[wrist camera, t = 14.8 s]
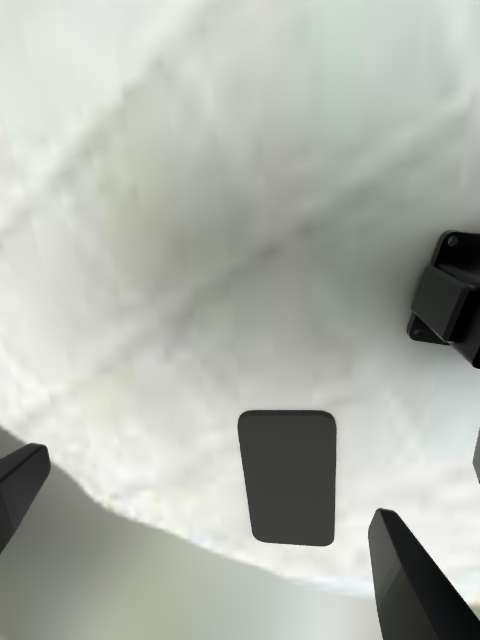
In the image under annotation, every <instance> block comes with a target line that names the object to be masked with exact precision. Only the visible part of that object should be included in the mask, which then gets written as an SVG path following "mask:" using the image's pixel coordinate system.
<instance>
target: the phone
mask: <svg viewBox="0 0 480 640" xmlns="http://www.w3.org/2000/svg"><path fill="white" fill-rule="evenodd" d="M238 435H239V442H240V450H241V457H242V465H243V470H244V477H245V485H246V492H247V499H248V506H249V513H250V520H251V527H252V533H253V536H254V537H255V538H256V539H257V540H259V541H261V542H266V543H279V544H293V545H307V546H328V545H330V544H331V543H332V542H333V541H334V524H335V476H336V424H335V420H334V418H333V416H332V415H331V414H329V413H327V412H324V411H311V410H254V411H247V412H244V413H242V414H241V415H240V417H239V420H238Z"/></svg>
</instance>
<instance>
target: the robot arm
mask: <svg viewBox="0 0 480 640" xmlns="http://www.w3.org/2000/svg"><path fill="white" fill-rule="evenodd" d="M452 236H454V238H455V239H454V242H453V243H452V244H450V245H449V244H448V240H449V238H451V237H452ZM412 310H413V315H412V317H411V320H410V323H409V326H408V329H407V334H408V335H409V337H410V338H411V339H412V340H415V341H422V342H429V343H436V344H443V345H449V346H452V347H453V348H454V349H455V350H456V351H457V352H458V353H459V354H460V355H462V356H463V357H464V358H465V359H466V360H467V361H468V362H469V363H470V364H471V365H472V366H473V367H475V368H477V369H480V234H478V233H470V232H461V231H447V232H445V233H444V234H443V235H442V236H441V238H440V240H439V242H438V245H437V248H436V251H435V254H434V256H433V259H432V262H431V265H430V266H429V267H427V268H426V269H425V271H424V274H423V277H422V280H421V282H420V285H419V288H418V291H417V294H416V297H415V299H414V302H413V305H412ZM419 329H420V332H419V333H417V334H414V332H415V331H416V330H419ZM473 465H474V468H475V471H476V474H477V477H478V480H479V483H480V429H479V433H478V438H477V442H476V447H475V452H474V457H473ZM50 469H51V463H50V458H49V453H48V449H47V447H46V446H45V445H43V444H37V443H30V444H27V445H25V446H23V447H21V448H19V449H18V450H16V451H14V452H12V453H10V454H8V455H6V456H5V457H3V458H1V459H0V554H1V552H2V551H3V549H4V548H5V547H6V545H7V544H8V542H9V541H10V539H11V538H12V536H13V535H14V533H15V532H16V530H17V528H18V527H19V525H20V524H21V522H22V520H23V518H24V517H25V515H26V513H27V511H28V510H29V508H30V506H31V504H32V503H33V501H34V499H35V497H36V496H37V494H38V492H39V491H40V489H41V487H42V485H43V484H44V482H45V480H46V478H47V477H48V475H49V473H50ZM368 539H369V548H370V556H371V565H372V573H373V581H374V590H375V598H376V605H377V612H378V617H379V622H380V627H381V632H382V637H383V640H480V620H479V619H478V618H477V616H476V615H475V614H474V613H473V611H472V610H471V609H470V607H469V606H468V605H467V603H466V602H465V601H464V600H463V598H462V597H461V596H460V594H459V593H458V592H457V590H456V589H455V588H454V587H453V585H452V584H451V583H450V581H449V580H448V579H447V577H446V576H445V575H444V574H443V572H442V571H441V570H440V568H439V567H438V566H437V565H436V563H435V562H434V561H433V559H432V558H431V557H430V555H429V554H428V553H427V552H426V550H425V549H424V548H423V546H422V545H421V544H420V542H419V541H418V540H417V539H416V537H415V536H414V535H413V533H412V532H411V531H410V529H409V528H408V527H407V526H406V524H405V523H404V522H403V520H402V519H401V518H400V516H399V515H398V514H397V513H396V512H395V511H393V510H388V509H383V508H379V509H377V510H376V512H375V514H374V517H373V519H372V521H371V524H370V526H369V530H368Z"/></svg>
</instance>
